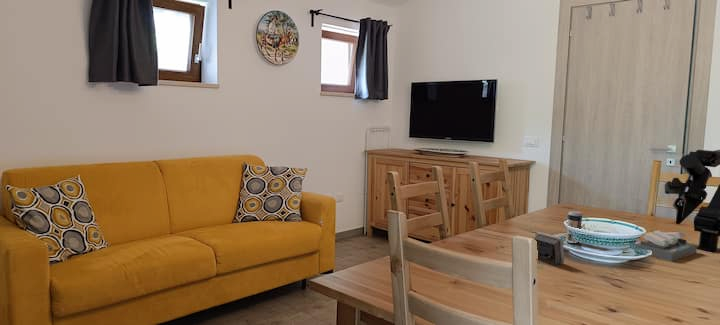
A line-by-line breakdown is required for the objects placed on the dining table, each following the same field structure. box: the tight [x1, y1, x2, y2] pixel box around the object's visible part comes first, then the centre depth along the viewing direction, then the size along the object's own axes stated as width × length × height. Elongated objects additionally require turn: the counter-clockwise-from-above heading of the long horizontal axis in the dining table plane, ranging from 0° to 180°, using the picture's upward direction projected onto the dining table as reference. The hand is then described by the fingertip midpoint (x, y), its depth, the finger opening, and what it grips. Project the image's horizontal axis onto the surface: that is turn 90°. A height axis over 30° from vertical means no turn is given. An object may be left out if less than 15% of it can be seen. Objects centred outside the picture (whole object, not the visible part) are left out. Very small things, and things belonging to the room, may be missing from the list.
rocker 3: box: [664, 231, 686, 239], centre depth 178 cm, size 4×7×2 cm, turn 35°
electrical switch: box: [532, 231, 565, 266], centre depth 158 cm, size 9×5×9 cm, turn 38°
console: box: [634, 238, 698, 262], centre depth 174 cm, size 20×12×4 cm, turn 125°
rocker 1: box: [642, 231, 670, 247], centre depth 171 cm, size 4×7×2 cm, turn 35°
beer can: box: [565, 210, 583, 242], centre depth 181 cm, size 5×5×12 cm
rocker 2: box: [652, 230, 678, 245], centre depth 174 cm, size 4×7×2 cm, turn 35°
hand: (680, 220), depth 167 cm, fingers open, 9 cm apart
